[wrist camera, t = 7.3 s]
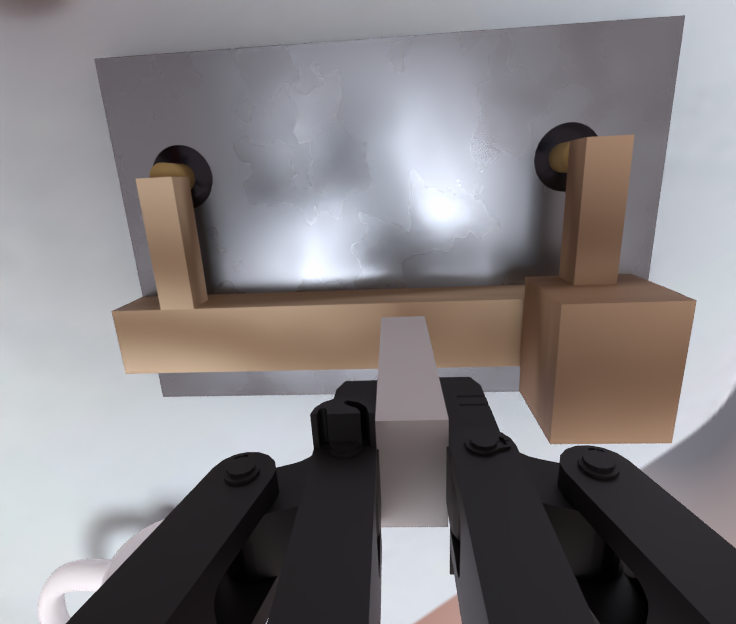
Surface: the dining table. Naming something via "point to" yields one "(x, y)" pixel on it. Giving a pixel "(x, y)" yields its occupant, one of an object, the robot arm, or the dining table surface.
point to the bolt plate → (389, 162)
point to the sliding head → (601, 317)
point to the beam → (289, 310)
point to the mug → (82, 578)
